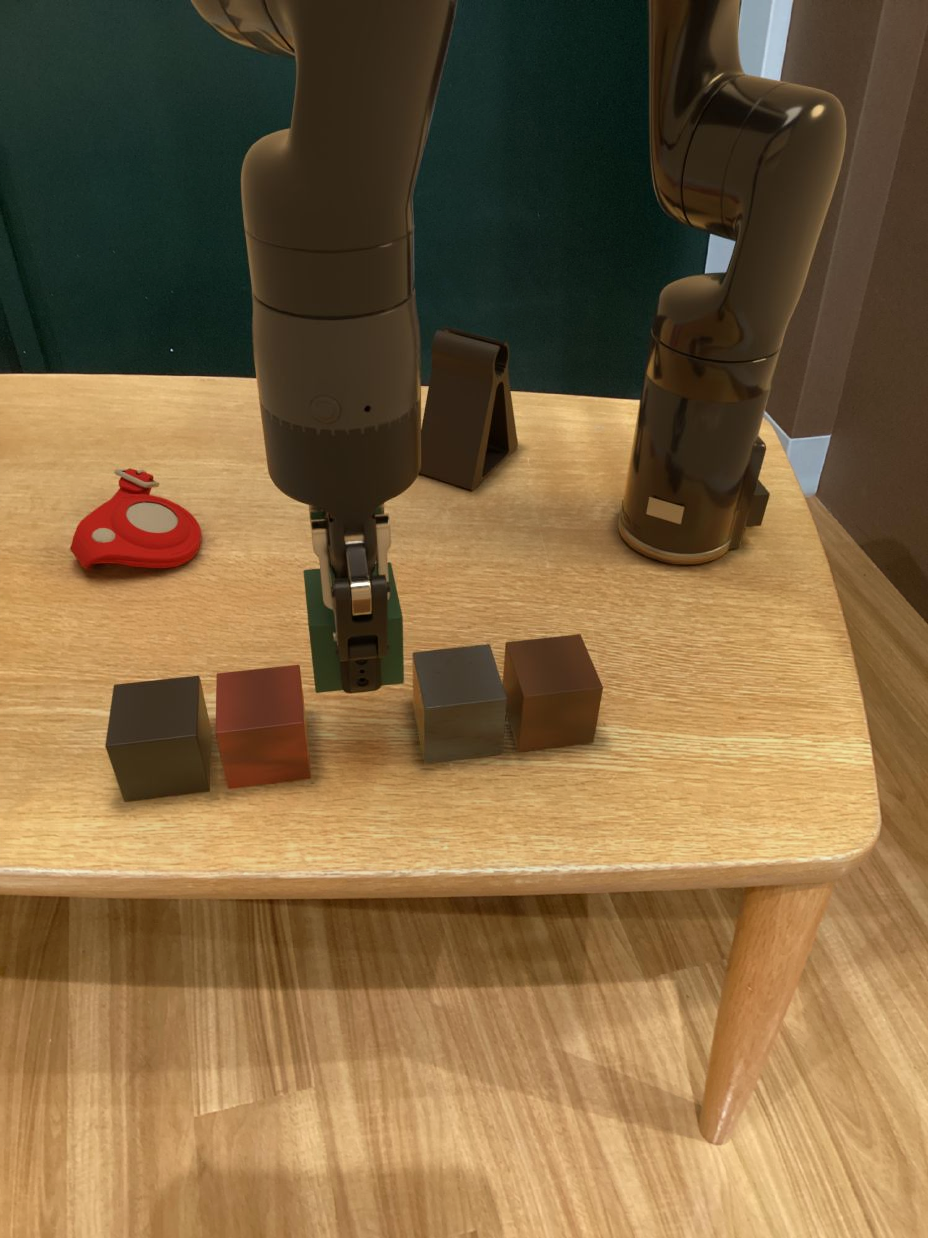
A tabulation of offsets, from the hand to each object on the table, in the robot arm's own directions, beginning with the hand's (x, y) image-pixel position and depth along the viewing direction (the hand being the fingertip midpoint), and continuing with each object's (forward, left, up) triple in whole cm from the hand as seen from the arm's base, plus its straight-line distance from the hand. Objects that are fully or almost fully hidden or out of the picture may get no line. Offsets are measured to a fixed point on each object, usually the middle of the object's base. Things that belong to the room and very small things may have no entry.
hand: (356, 653), depth 54 cm
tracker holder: (+15, -25, -8) cm, 30 cm away
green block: (0, 0, 0) cm, 0 cm away
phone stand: (-13, -33, -8) cm, 36 cm away
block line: (0, 0, -8) cm, 8 cm away
